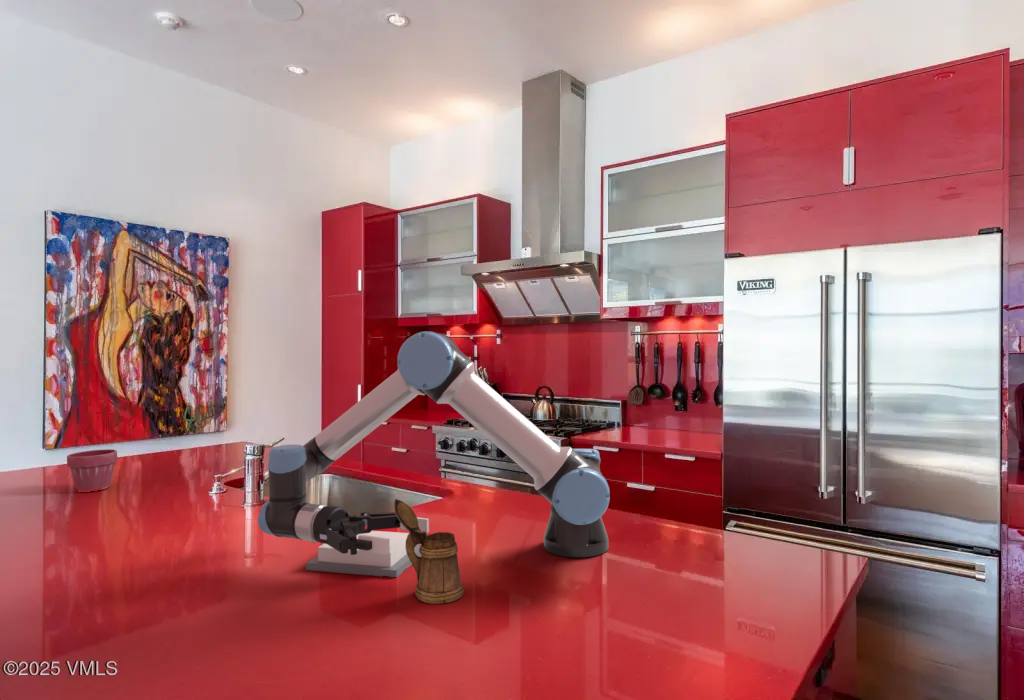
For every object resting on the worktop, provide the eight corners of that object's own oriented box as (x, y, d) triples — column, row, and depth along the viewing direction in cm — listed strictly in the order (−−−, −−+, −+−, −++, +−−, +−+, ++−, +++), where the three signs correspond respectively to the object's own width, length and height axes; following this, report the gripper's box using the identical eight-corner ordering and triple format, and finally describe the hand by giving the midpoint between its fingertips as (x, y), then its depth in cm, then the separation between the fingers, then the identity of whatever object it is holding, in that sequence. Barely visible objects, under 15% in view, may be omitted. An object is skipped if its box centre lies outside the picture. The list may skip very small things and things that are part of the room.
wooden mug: (404, 582, 121) (403, 493, 121) (469, 587, 118) (467, 495, 118) (386, 600, 112) (384, 504, 112) (455, 606, 109) (453, 508, 109)
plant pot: (56, 494, 200) (55, 456, 200) (92, 484, 214) (91, 448, 213) (93, 495, 197) (93, 456, 197) (127, 485, 211) (127, 449, 211)
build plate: (426, 551, 139) (425, 532, 139) (396, 577, 123) (396, 555, 123) (344, 545, 144) (344, 526, 144) (306, 569, 128) (305, 548, 128)
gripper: (361, 525, 136) (442, 535, 128) (278, 561, 114) (369, 578, 105) (361, 492, 136) (441, 500, 128) (277, 522, 113) (368, 535, 105)
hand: (409, 535), depth 116 cm, fingers open, 13 cm apart
